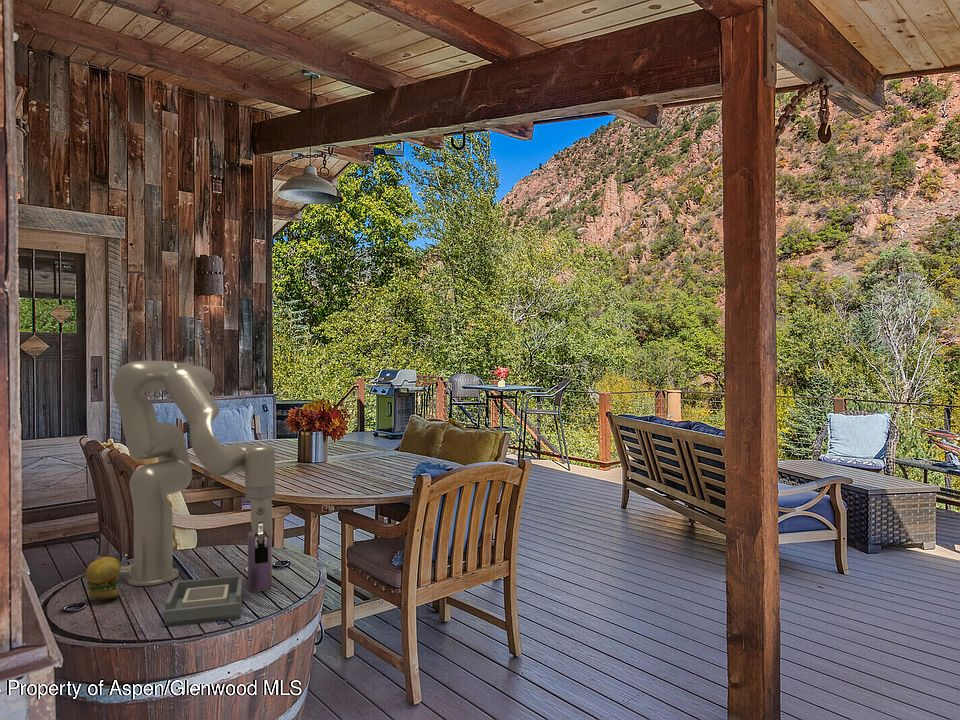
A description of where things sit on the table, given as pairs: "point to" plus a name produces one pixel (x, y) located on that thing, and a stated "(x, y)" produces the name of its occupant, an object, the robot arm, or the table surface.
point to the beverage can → (259, 567)
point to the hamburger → (103, 577)
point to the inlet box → (204, 600)
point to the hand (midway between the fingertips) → (261, 557)
